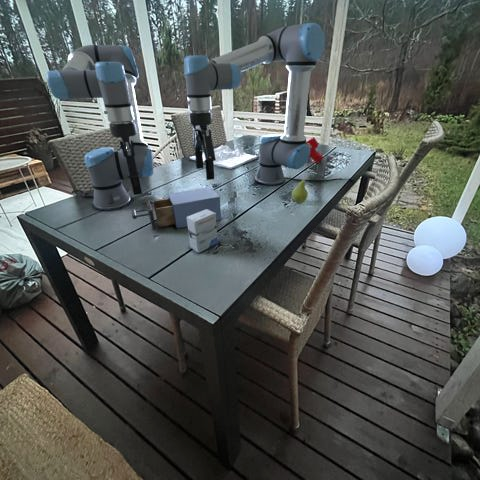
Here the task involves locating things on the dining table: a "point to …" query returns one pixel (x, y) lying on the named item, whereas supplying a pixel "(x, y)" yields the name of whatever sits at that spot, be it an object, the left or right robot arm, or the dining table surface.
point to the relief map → (229, 157)
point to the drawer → (159, 212)
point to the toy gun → (313, 153)
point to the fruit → (300, 192)
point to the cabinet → (194, 204)
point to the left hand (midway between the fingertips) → (137, 193)
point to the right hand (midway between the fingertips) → (205, 173)
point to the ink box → (202, 230)
